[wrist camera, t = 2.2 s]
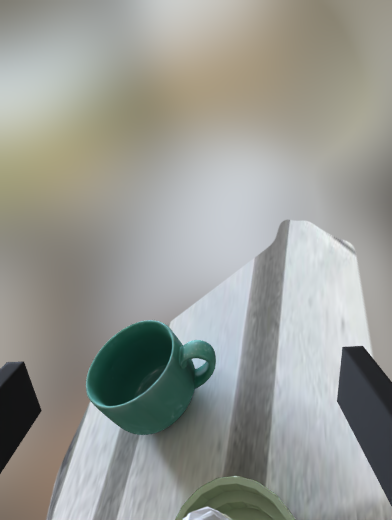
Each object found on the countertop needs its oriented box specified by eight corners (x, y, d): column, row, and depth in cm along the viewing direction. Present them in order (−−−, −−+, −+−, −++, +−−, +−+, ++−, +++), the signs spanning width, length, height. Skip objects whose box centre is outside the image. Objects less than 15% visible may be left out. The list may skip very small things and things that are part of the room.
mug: (111, 447, 38) (66, 413, 33) (138, 363, 48) (107, 327, 43) (230, 444, 32) (197, 401, 28) (233, 349, 42) (209, 306, 37)
